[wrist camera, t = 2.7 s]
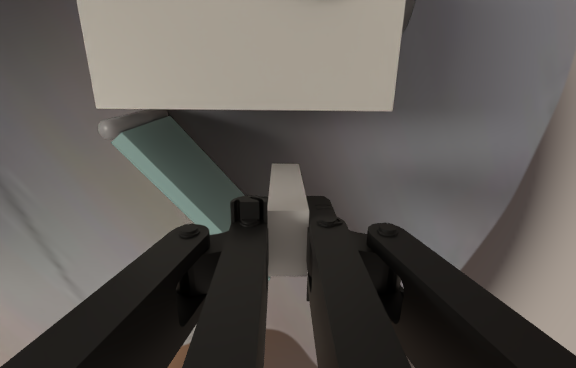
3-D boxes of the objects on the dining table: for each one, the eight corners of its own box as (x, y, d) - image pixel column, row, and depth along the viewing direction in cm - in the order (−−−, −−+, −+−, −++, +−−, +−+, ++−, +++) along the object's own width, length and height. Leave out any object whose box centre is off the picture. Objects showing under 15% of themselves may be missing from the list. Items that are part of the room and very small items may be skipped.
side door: (142, 120, 23) (81, 140, 15) (160, 103, 22) (106, 115, 15) (255, 236, 26) (247, 295, 19) (272, 223, 26) (271, 278, 19)
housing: (160, 99, 22) (87, 113, 14) (143, -50, 19) (34, -156, 11) (364, 102, 23) (419, 116, 14) (377, -43, 20) (457, -138, 11)
